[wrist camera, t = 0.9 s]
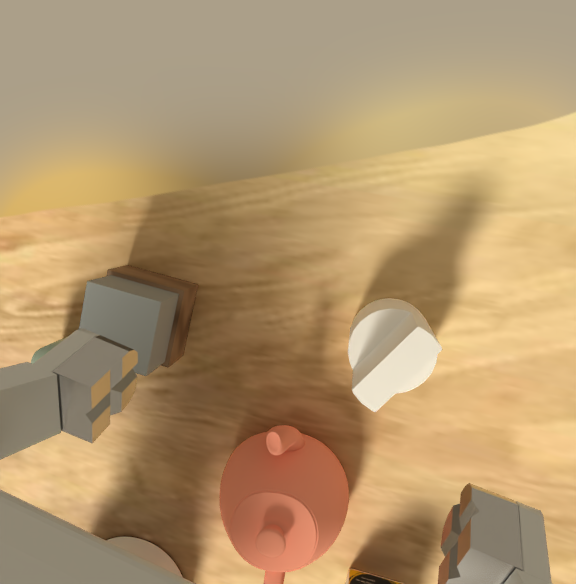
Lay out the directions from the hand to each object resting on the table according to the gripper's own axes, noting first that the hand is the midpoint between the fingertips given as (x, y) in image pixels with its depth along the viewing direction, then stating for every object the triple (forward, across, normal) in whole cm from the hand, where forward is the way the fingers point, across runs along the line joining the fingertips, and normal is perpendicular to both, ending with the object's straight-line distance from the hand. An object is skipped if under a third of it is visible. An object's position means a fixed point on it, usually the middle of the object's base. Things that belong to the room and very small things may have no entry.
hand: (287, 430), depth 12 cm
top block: (+32, -24, -27) cm, 48 cm away
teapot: (+33, -3, -43) cm, 54 cm away
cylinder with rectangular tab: (+41, +3, -24) cm, 48 cm away
